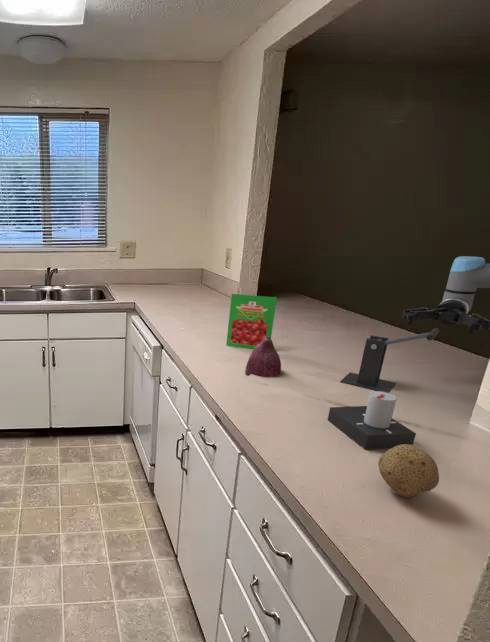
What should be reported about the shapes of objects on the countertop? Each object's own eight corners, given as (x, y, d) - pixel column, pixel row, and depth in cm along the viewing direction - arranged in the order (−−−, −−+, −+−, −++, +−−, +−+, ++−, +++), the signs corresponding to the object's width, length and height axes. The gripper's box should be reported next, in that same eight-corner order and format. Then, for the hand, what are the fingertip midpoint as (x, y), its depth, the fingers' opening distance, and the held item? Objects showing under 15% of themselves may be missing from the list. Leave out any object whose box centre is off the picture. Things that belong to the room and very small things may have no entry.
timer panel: (412, 447, 96) (416, 432, 95) (364, 449, 95) (368, 434, 94) (369, 418, 109) (372, 404, 108) (327, 419, 108) (330, 406, 107)
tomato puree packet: (225, 346, 165) (231, 294, 158) (226, 345, 166) (232, 293, 159) (268, 351, 158) (276, 297, 151) (269, 350, 159) (276, 297, 152)
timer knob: (370, 416, 102) (377, 388, 100) (393, 424, 98) (401, 395, 96) (359, 422, 100) (366, 393, 97) (383, 430, 96) (390, 401, 93)
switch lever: (440, 334, 116) (437, 325, 116) (434, 341, 110) (432, 332, 110) (376, 346, 127) (373, 338, 127) (367, 353, 121) (365, 345, 121)
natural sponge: (360, 482, 84) (371, 437, 81) (398, 475, 86) (410, 431, 83) (402, 512, 76) (416, 463, 73) (442, 504, 78) (458, 456, 74)
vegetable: (274, 391, 133) (287, 351, 124) (240, 381, 137) (250, 342, 128) (281, 373, 140) (293, 334, 131) (248, 364, 144) (258, 325, 135)
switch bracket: (394, 387, 127) (407, 338, 122) (386, 397, 120) (399, 347, 115) (349, 376, 135) (358, 330, 130) (338, 385, 128) (348, 338, 123)
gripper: (501, 330, 128) (495, 346, 114) (400, 316, 144) (384, 329, 130) (509, 305, 125) (505, 318, 111) (406, 294, 142) (390, 304, 128)
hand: (440, 324), depth 121 cm, fingers open, 13 cm apart
